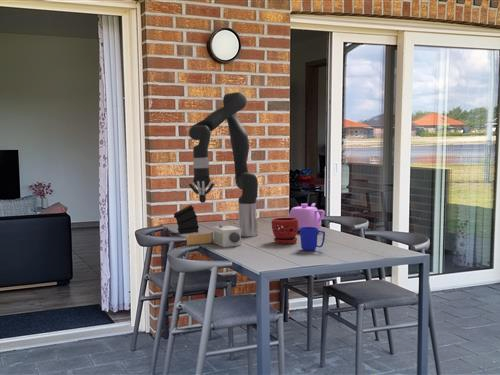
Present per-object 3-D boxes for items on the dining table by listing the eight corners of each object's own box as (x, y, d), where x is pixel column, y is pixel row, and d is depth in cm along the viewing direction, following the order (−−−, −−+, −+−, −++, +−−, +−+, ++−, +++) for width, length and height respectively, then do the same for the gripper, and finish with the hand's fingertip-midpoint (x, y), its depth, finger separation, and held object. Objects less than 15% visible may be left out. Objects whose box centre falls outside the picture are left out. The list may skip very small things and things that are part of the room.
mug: (320, 253, 257) (320, 231, 256) (296, 250, 264) (296, 228, 263) (328, 249, 264) (328, 228, 263) (304, 247, 271) (304, 226, 270)
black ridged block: (204, 229, 317) (192, 205, 314) (183, 240, 314) (170, 216, 311) (202, 228, 320) (191, 204, 317) (181, 239, 317) (169, 215, 314)
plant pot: (300, 240, 289) (300, 216, 287) (295, 245, 276) (295, 220, 275) (275, 239, 292) (275, 216, 291) (268, 244, 279) (268, 219, 278)
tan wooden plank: (213, 242, 285) (213, 232, 284) (187, 245, 278) (187, 234, 277) (212, 242, 286) (211, 231, 286) (186, 245, 279) (186, 234, 279)
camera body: (230, 240, 289) (230, 223, 288) (242, 245, 276) (242, 227, 275) (213, 242, 285) (212, 225, 284) (224, 247, 272) (224, 229, 271)
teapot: (318, 234, 306) (318, 206, 304) (283, 231, 316) (283, 204, 315) (335, 228, 325) (335, 202, 324) (301, 225, 336) (301, 200, 335)
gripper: (216, 166, 280) (217, 201, 281) (190, 166, 282) (191, 201, 284) (212, 167, 272) (213, 203, 274) (185, 167, 275) (187, 203, 277)
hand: (202, 202), depth 279 cm, fingers closed
